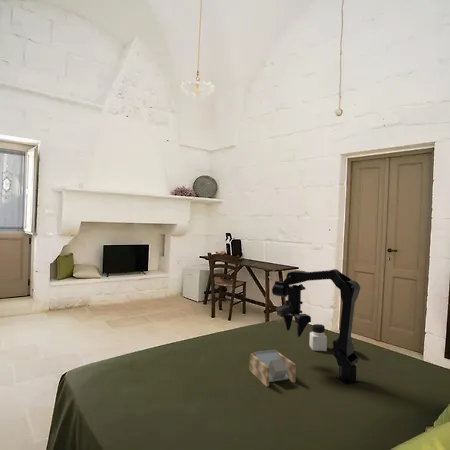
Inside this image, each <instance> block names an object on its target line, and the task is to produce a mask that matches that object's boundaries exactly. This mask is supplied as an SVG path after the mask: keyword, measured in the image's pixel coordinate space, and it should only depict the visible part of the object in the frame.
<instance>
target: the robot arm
mask: <svg viewBox="0 0 450 450" xmlns="http://www.w3.org/2000/svg"><path fill="white" fill-rule="evenodd" d="M321 280H322V281H323V280H324V281H325V280H330V281H332V283H333V284H334V285H335V287H336V288H338V289H339V292H340V299H341V302H342V306H341V315H340V322H339V323H340V325H339V334H338V338H336V339H335V340H333V341H332V349H331V351H332V353H333V357H334V358H335V360H336V363H337V365H338V366H339V367H338V375H336V376H335V377H336V379H338V380H339V381H341V382H343V383H345V384H354V383H359V382H360V380H359V379H358V378H357V365H356V364H357V363H359V359H360V358H359V356H357V354H356V352H354V350H353V346H354V345H353V343H352V340H351V337H352V330H353V320H354V311H355V303H356V301H357V299H358V298H359V294H360V290H361V285H360V284H359V283H358V282H357V281H356V280H353V279H351V278H350V277H348V276H347V275H345V274H343V273H342V272H341V271H340V270H338V269H335V268H334V269H329V270H327V269H326V270H317V271H305V270H293V271H289V272H287V274H286V277H285V279H284V280H283V281H280V280H275V281H274V284H273V286H272V288H271V292H272V293H271V294H273V296H276V297H277V296H278V297H282V298H287V299H285V303H283V304H281V305H279V306H276V307H275V311H276V315H277V316H279V317H281V318H283V321H284V324H285V329H286V331H290V329H291V326H292V323H293V322H294V324H296V331H297V332H296V333H297V338H298V337H299V338H300V337H301V336H302V334H303V332H304V330H305V328H307V326H308V324H309V323H311V322H312V317H311V316H310V315H309V314H306V313H303V310H301V307H302V305H304V304H303V303H304V302H303V301H302V291H304V290H307V289H306V288H307V287H305V286H304V285H303V284H302V283H305V282H310V281H321ZM293 318H294V321H293Z"/></svg>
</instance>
